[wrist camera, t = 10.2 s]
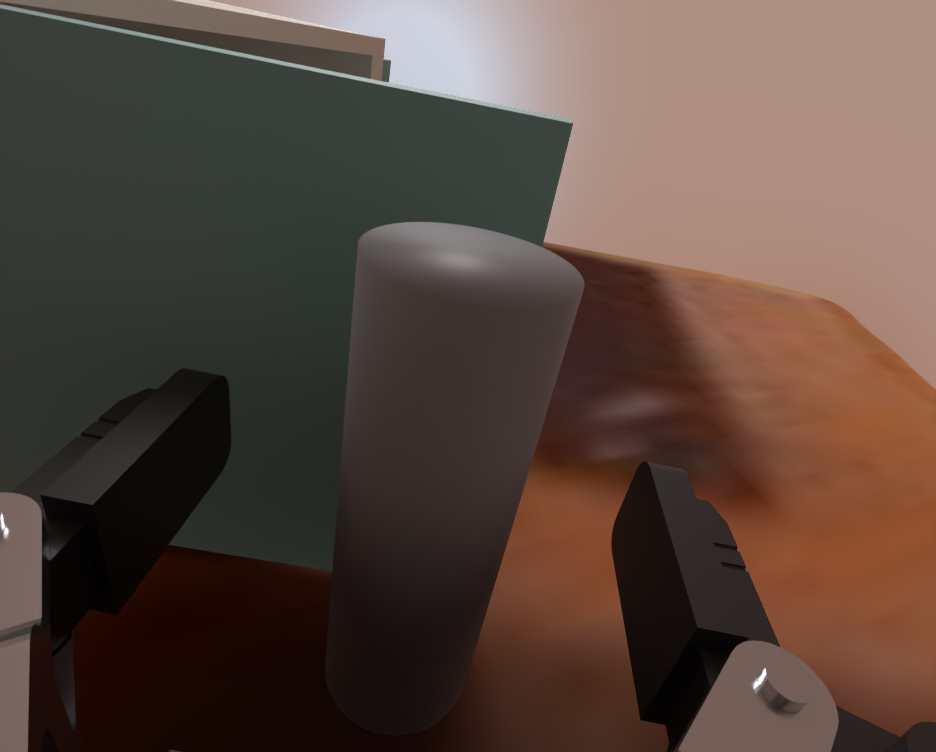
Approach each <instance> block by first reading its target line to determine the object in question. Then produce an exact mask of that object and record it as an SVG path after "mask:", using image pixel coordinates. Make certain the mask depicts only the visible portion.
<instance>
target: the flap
mask: <svg viewBox="0 0 936 752" xmlns="http://www.w3.org/2000/svg"><path fill="white" fill-rule="evenodd" d="M572 125H573V123H572V122H571V121H570V120H569V119H566V118H561V117H557V116H552V115H547V114H542V113H536V112H532V111H527V110H521V109H517V108H512V107H507V106H502V105H497V104H492V103H487V102H482V101H477V100H472V99H467V98H462V97H457V96H452V95H447V94H442V93H437V92H433V91H428V90H422V89H417V88H413V87H408V86H402V85H398V84H393V83H388V82H383V81H378V80H373V79H368V78H363V77H358V76H353V75H348V74H343V73H338V72H333V71H328V70H323V69H319V68H314V67H309V66H304V65H299V64H294V63H289V62H284V61H279V60H274V59H269V58H264V57H259V56H254V55H249V54H244V53H239V52H234V51H229V50H224V49H219V48H214V47H209V46H204V45H199V44H195V43H190V42H185V41H180V40H175V39H170V38H165V37H160V36H155V35H150V34H145V33H140V32H135V31H130V30H125V29H120V28H115V27H110V26H105V25H100V24H95V23H90V22H85V21H80V20H76V19H71V18H66V17H61V16H56V15H51V14H46V13H41V12H36V11H31V10H26V9H21V8H16V7H11V6H6V5H1V4H0V492H5V493H10V492H11V491H13V490H14V489H15V488H16V487H17V486H19V485H20V484H21V483H22V482H23V481H25V480H26V479H27V478H28V477H29V476H30V475H32V474H33V473H34V472H35V471H36V470H38V469H39V468H40V467H41V466H42V465H43V464H45V463H46V462H47V461H48V460H49V459H51V458H52V457H53V456H54V455H55V454H57V453H58V452H59V451H60V450H61V449H62V448H64V447H65V446H66V445H67V444H68V443H70V442H71V441H72V440H73V439H74V438H76V437H80V436H81V432H83V431H84V430H85V429H86V428H87V427H89V426H90V425H91V424H92V423H93V422H98V420H99V417H100V416H102V415H103V414H104V413H105V412H106V411H108V410H109V409H110V408H111V407H112V406H113V405H115V404H116V403H117V402H118V401H119V400H122V399H124V398H126V397H129V396H131V395H133V394H135V393H138V392H140V391H142V390H144V389H147V388H151V389H156V390H157V389H158V388H159V387H160V386H161V385H162V384H163V383H165V382H166V381H167V380H168V379H169V378H170V377H171V376H172V375H173V374H175V373H176V372H177V371H178V370H180V369H182V368H187V369H192V370H197V371H202V372H207V373H212V374H217V375H222V376H225V377H226V379H227V381H228V384H229V400H230V421H231V449H230V454H229V457H228V460H227V463H226V465H225V467H224V469H223V471H222V473H221V474H220V475H219V477H218V478H217V479H216V481H215V482H214V484H213V485H212V486H211V488H210V489H209V490H208V492H207V493H206V494H205V496H204V497H203V498H202V500H201V501H200V503H199V504H198V505H197V507H196V508H195V509H194V511H193V512H192V513H191V515H190V516H189V518H188V519H187V520H186V522H185V523H184V524H183V526H182V527H181V528H180V530H179V531H178V532H177V534H176V535H175V537H174V538H173V539H172V541H171V542H170V543H169V545H173V546H179V547H185V548H191V549H197V550H204V551H210V552H216V553H222V554H228V555H235V556H241V557H247V558H253V559H259V560H266V561H272V562H278V563H284V564H290V565H297V566H303V567H309V568H315V569H321V570H328V571H332V581H331V594H330V607H329V620H328V633H327V645H326V658H325V678H326V682H327V687H328V689H329V692H330V695H331V697H332V699H333V700H334V702H335V704H336V705H337V707H338V708H339V709H340V711H341V712H342V713H343V714H344V715H345V716H346V717H347V718H348V719H350V720H351V721H352V722H354V723H355V724H356V725H358V726H360V727H362V728H364V729H365V730H368V731H371V732H373V733H377V734H382V735H389V736H403V735H410V734H414V733H418V732H421V731H423V730H426V729H428V728H430V727H432V726H433V725H435V724H436V723H438V722H439V721H441V720H442V719H443V718H444V717H445V716H446V715H447V714H448V713H449V712H450V711H451V710H452V708H453V707H454V706H455V704H456V703H457V701H458V699H459V698H460V695H461V693H462V691H463V688H464V685H465V681H466V678H467V675H468V671H469V668H470V665H471V661H472V658H473V655H474V651H475V648H476V645H477V642H478V638H479V635H480V632H481V628H482V625H483V622H484V618H485V615H486V612H487V608H488V605H489V602H490V598H491V595H492V592H493V588H494V585H495V582H496V578H497V575H498V572H499V568H500V565H501V562H502V559H503V555H504V552H505V549H506V545H507V542H508V539H509V535H510V532H511V529H512V525H513V522H514V519H515V515H516V512H517V509H518V505H519V502H520V499H521V495H522V492H523V489H524V485H525V482H526V479H527V476H528V472H529V469H530V466H531V462H532V459H533V456H534V452H535V449H536V446H537V442H538V439H539V436H540V432H541V429H542V426H543V422H544V419H545V416H546V412H547V409H548V406H549V402H550V399H551V396H552V393H553V389H554V386H555V383H556V379H557V376H558V373H559V369H560V366H561V363H562V359H563V356H564V353H565V349H566V346H567V343H568V339H569V336H570V333H571V329H572V326H573V323H574V319H575V316H576V313H577V310H578V306H579V303H580V300H581V296H582V293H583V290H584V280H583V278H582V276H581V274H580V273H579V272H578V270H577V269H576V268H575V267H573V266H572V265H571V264H570V263H569V262H567V261H566V260H564V259H563V258H561V257H560V256H558V255H556V254H554V253H553V252H551V251H549V250H547V249H544V248H542V245H543V241H544V237H545V233H546V229H547V225H548V221H549V217H550V213H551V209H552V205H553V201H554V197H555V193H556V189H557V185H558V181H559V177H560V173H561V169H562V165H563V161H564V157H565V153H566V149H567V145H568V141H569V137H570V133H571V129H572Z"/></svg>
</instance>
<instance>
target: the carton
mask: <svg viewBox="0 0 936 752" xmlns="http://www.w3.org/2000/svg"><path fill="white" fill-rule="evenodd" d="M0 4H1V5H6V6H11V7H16V8H21V9H26V10H31V11H36V12H41V13H46V14H51V15H56V16H61V17H66V18H71V19H76V20H80V21H85V22H90V23H95V24H100V25H105V26H110V27H115V28H120V29H125V30H130V31H135V32H140V33H145V34H150V35H155V36H160V37H165V38H170V39H175V40H180V41H185V42H190V43H195V44H199V45H204V46H209V47H214V48H219V49H224V50H229V51H234V52H239V53H244V54H249V55H254V56H259V57H264V58H269V59H274V60H279V61H284V62H289V63H294V64H299V65H304V66H309V67H314V68H319V69H323V70H328V71H333V72H338V73H343V74H348V75H353V76H358V77H363V78H368V79H373V80H378V81H383V82H388V83H389V75H390V64H391V61H390V60H386V59H384V48H385V39H383V38H378V37H374V36H369V35H364V34H360V33H355V32H350V31H346V30H342V29H337V28H332V27H328V26H323V25H319V24H314V23H309V22H305V21H300V20H296V19H291V18H286V17H282V16H277V15H273V14H268V13H264V12H259V11H255V10H250V9H246V8H241V7H237V6H231V5H227V4H223V3H218V2H213V1H209V0H0Z"/></svg>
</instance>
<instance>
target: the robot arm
mask: <svg viewBox="0 0 936 752" xmlns="http://www.w3.org/2000/svg"><path fill="white" fill-rule="evenodd" d="M230 449H231V421H230V400H229V384H228V381H227V379H226V377H225V376H222V375H217V374H212V373H207V372H202V371H197V370H192V369H187V368H182V369H180V370H178V371H177V372H176V373H175V374H173V375H172V376H171V377H170V378H169V379H168V380H167V381H166V382H165V383H163V384H162V385H161V386H160V387H159V388H158V389H157V390H156V389H151V388H147V389H144V390H142V391H140V392H138V393H135V394H133V395H131V396H129V397H126V398H124V399H122V400H119V401H118V402H117V403H116V404H115V405H113V406H112V407H111V408H110V409H109V410H108V411H106V412H105V413H104V414H103V415H102V416H100V417H99V420H98V422H93V423H92V424H91V425H90V426H89V427H87V428H86V429H85V430H84V431H83V432H81V436H80V437H76V438H74V439H73V440H72V441H71V442H70V443H68V444H67V445H66V446H65V447H64V448H62V449H61V450H60V451H59V452H58V453H57V454H55V455H54V456H53V457H52V458H51V459H49V460H48V461H47V462H46V463H45V464H43V465H42V466H41V467H40V468H39V469H38V470H36V471H35V472H34V473H33V474H32V475H30V476H29V477H28V478H27V479H26V480H25V481H23V482H22V483H21V484H20V485H19V486H17V487H16V488H15V489H14V490H13V491H11V492H10V493H5V492H0V752H83V742H82V724H81V704H80V684H79V665H78V645H77V634H76V629H75V626H76V625H77V624H78V623H79V621H80V620H81V619H82V618H83V616H84V615H85V614H86V612H87V611H88V610H89V609H91V610H96V611H101V612H107V613H112V614H118V613H119V611H120V610H121V609H122V607H123V606H124V605H125V603H126V602H127V600H128V599H129V598H130V596H131V595H132V594H133V592H134V591H135V590H136V588H137V587H138V586H139V584H140V583H141V581H142V580H143V579H144V577H145V576H146V575H147V573H148V572H149V571H150V569H151V568H152V566H153V565H154V564H155V562H156V561H157V560H158V558H159V557H160V556H161V554H162V553H163V552H164V550H165V549H166V547H167V546H168V545H169V543H170V542H171V541H172V539H173V538H174V537H175V535H176V534H177V532H178V531H179V530H180V528H181V527H182V526H183V524H184V523H185V522H186V520H187V519H188V518H189V516H190V515H191V513H192V512H193V511H194V509H195V508H196V507H197V505H198V504H199V503H200V501H201V500H202V498H203V497H204V496H205V494H206V493H207V492H208V490H209V489H210V488H211V486H212V485H213V484H214V482H215V481H216V479H217V478H218V477H219V475H220V474H221V473H222V471H223V469H224V467H225V465H226V463H227V460H228V457H229V454H230ZM612 555H613V561H614V566H615V572H616V578H617V584H618V590H619V596H620V602H621V608H622V614H623V619H624V625H625V631H626V637H627V643H628V649H629V655H630V661H631V667H632V672H633V678H634V684H635V690H636V696H637V702H638V708H639V714H640V720H643V721H648V722H653V723H658V724H663V725H666V729H667V734H668V739H669V744H668V746H667V747H666V748H665V750H664V751H663V752H936V723H934V722H921V723H917V724H915V725H914V726H912V727H911V728H910V729H909V730H908V731H907V732H906V733H905V734H904V735H902V736H901V737H898V736H896V735H894V734H892V733H890V732H888V731H886V730H884V729H882V728H880V727H878V726H876V725H874V724H872V723H870V722H868V721H866V720H863V719H861V718H859V717H857V716H855V715H853V714H851V713H849V712H847V711H845V710H843V709H841V708H839V707H838V706H836V705H835V703H834V700H833V698H832V696H831V694H830V692H829V691H828V689H827V687H826V686H825V685H824V683H823V682H822V681H821V679H820V678H819V677H818V676H817V675H816V674H815V672H814V671H813V670H812V669H811V668H810V667H808V666H807V665H806V664H805V663H804V662H803V661H801V660H800V659H799V658H798V657H796V656H795V655H793V654H792V653H790V652H788V651H787V650H785V649H783V648H781V647H780V645H779V643H778V641H777V638H776V636H775V634H774V631H773V629H772V627H771V624H770V622H769V620H768V617H767V615H766V613H765V610H764V608H763V606H762V603H761V601H760V599H759V596H758V594H757V592H756V589H755V587H754V585H753V582H752V580H751V578H750V575H749V573H748V572H746V571H745V568H746V566H745V563H744V561H743V559H742V556H741V554H740V552H738V551H737V545H736V542H735V540H734V538H733V535H732V533H731V531H730V528H729V526H728V524H727V522H726V521H725V520H724V519H723V518H722V517H721V516H720V514H719V513H718V512H717V511H716V510H715V509H714V508H713V506H712V505H711V504H710V503H709V502H708V501H704V500H699V499H696V496H695V493H694V491H693V488H692V485H691V483H690V480H689V478H688V475H687V473H686V471H685V470H683V469H680V468H675V467H670V466H665V465H660V464H655V463H650V462H645V461H644V462H642V463H641V464H640V465H639V467H638V468H637V470H636V473H635V475H634V477H633V480H632V482H631V484H630V487H629V489H628V491H627V494H626V496H625V498H624V501H623V503H622V505H621V508H620V510H619V512H618V515H617V517H616V520H615V523H614V527H613V532H612ZM169 752H180V751H175V750H169Z"/></svg>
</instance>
